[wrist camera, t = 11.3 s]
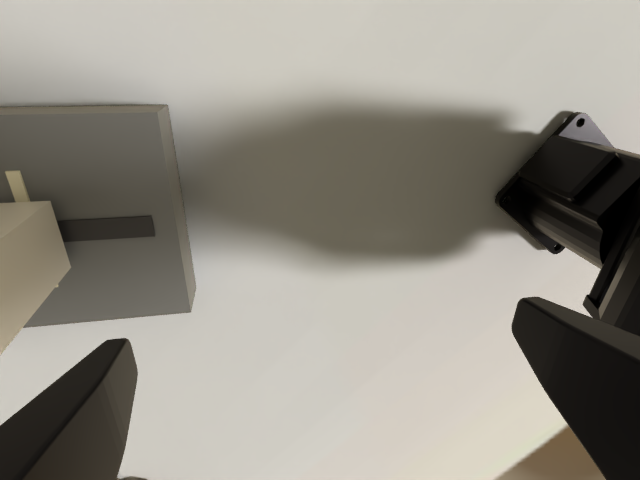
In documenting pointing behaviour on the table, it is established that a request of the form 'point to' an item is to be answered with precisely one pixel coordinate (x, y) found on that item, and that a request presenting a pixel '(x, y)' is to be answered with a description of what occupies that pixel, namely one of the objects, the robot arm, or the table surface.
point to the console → (103, 207)
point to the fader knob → (27, 263)
